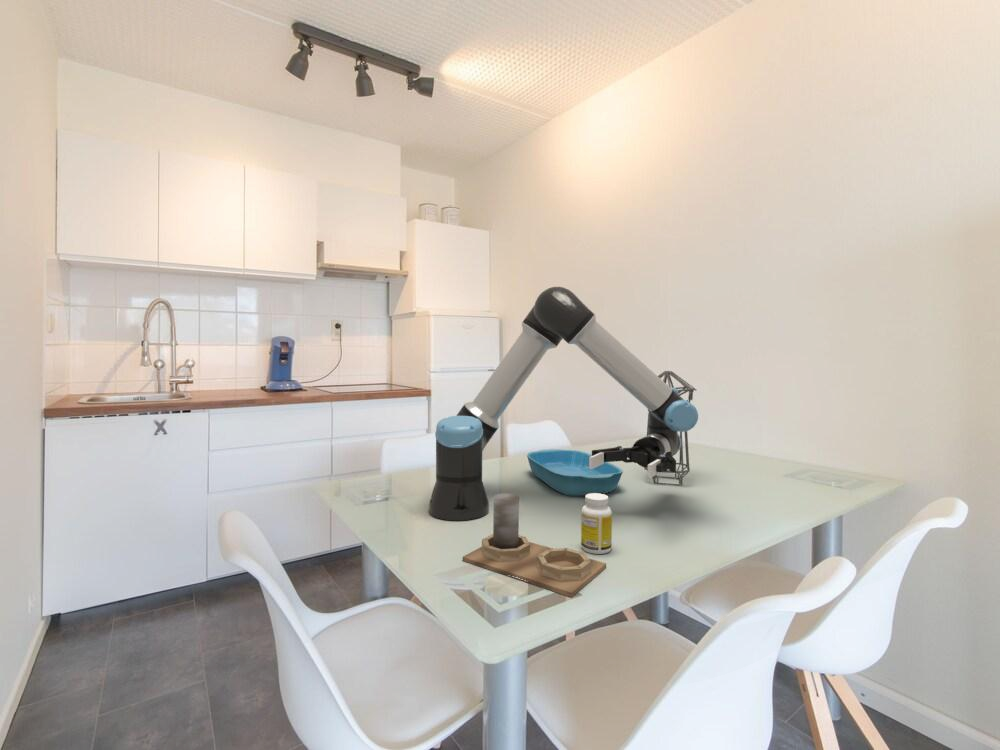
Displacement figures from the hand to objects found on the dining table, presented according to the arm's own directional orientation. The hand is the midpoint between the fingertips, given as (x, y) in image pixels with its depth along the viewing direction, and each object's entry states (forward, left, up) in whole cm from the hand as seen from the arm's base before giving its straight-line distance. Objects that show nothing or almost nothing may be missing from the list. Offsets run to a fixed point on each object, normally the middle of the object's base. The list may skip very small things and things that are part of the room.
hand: (618, 467), depth 108 cm
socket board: (-7, -24, -15) cm, 29 cm away
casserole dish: (-29, +33, -16) cm, 46 cm away
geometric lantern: (-6, +53, -15) cm, 55 cm away
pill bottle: (-1, -10, -15) cm, 18 cm away
